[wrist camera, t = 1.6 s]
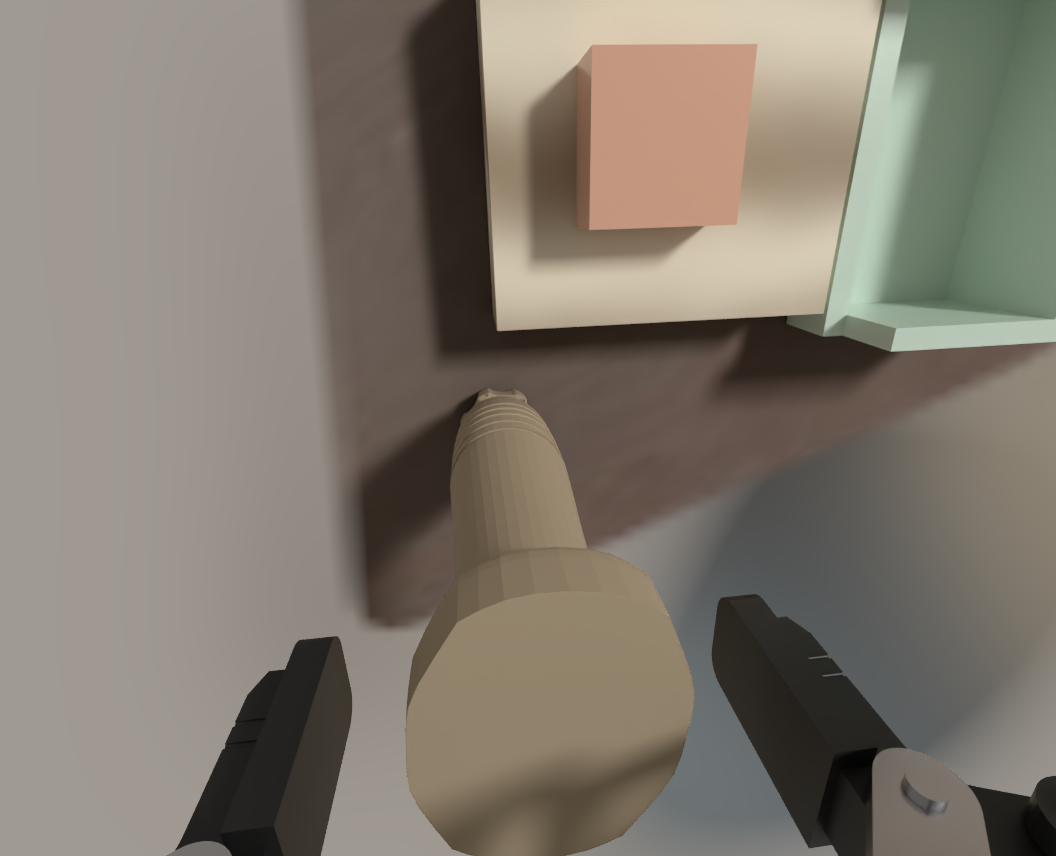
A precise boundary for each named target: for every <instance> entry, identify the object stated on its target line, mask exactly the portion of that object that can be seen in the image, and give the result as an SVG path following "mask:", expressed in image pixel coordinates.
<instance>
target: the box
mask: <svg viewBox="0 0 1056 856" xmlns="http://www.w3.org/2000/svg"><path fill="white" fill-rule="evenodd" d="M786 324H788V325H791V326H794V327H797V328H799V329H802V330H805V331H808V332H811V333H814V334H816V335H819V336H822V337H827V336H845V337H848V338H851V339H854V340H857V341H860V342H863V343H866V344H869V345H872V346H875V347H878V348H881V349H884V350H887V351H890V352H894V351H910V350H927V349H943V348H959V347H976V346H992V345H1008V344H1025V343H1041V342H1056V0H882V4H881V10H880V15H879V20H878V26H877V31H876V36H875V42H874V47H873V52H872V58H871V63H870V68H869V74H868V79H867V84H866V90H865V95H864V100H863V106H862V111H861V116H860V122H859V127H858V132H857V138H856V143H855V149H854V154H853V159H852V165H851V170H850V175H849V181H848V186H847V191H846V197H845V202H844V207H843V213H842V218H841V223H840V229H839V234H838V239H837V245H836V250H835V255H834V261H833V266H832V271H831V277H830V282H829V287H828V293H827V298H826V303H825V309H824V314H807V315H788V316H787V322H786Z"/></svg>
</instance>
